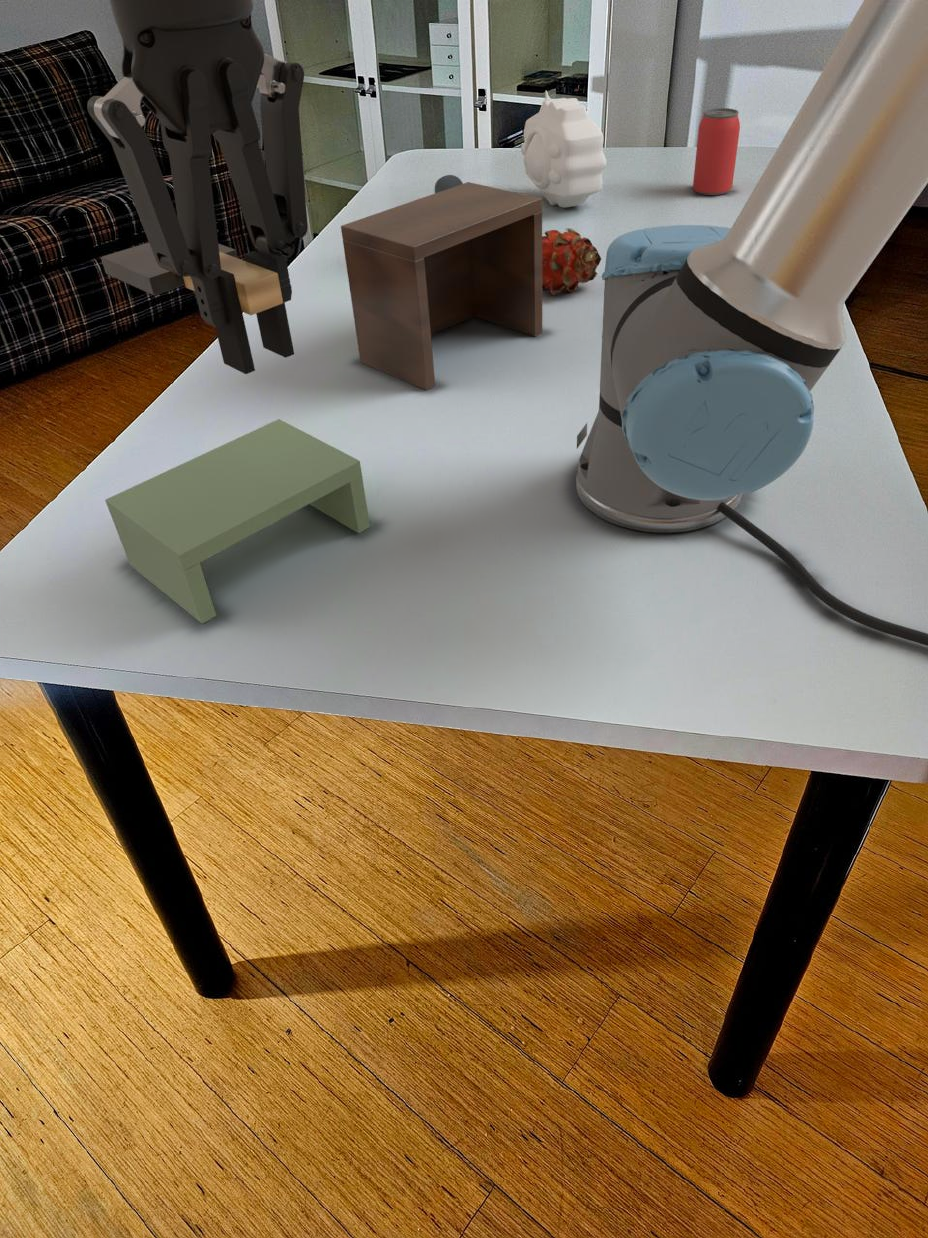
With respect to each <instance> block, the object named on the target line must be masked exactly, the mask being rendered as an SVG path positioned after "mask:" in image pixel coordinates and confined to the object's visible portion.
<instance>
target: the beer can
mask: <svg viewBox="0 0 928 1238" xmlns="http://www.w3.org/2000/svg"><path fill="white" fill-rule="evenodd" d="M739 114H740V113H739V111H738V110H737V109H734V108H728V107H716V108H710V109H706V110H705V111H703V115H702V117H701V120H700V122H699V124H698V133H697V140H696V141H697V142H696V150H695V162H694V170H693V171H694V172H693V183H692V190H693V191H694V192H696V194H700V195H703V196H721V195H725V194H727V193H729V192H730V191H731V190H732V189H733V185H734V176H735V170H736V162H737V154H738V146H739V138H740V129H741V124H740V119H739Z"/></svg>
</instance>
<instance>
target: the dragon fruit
mask: <svg viewBox="0 0 928 1238" xmlns="http://www.w3.org/2000/svg"><path fill="white" fill-rule="evenodd" d="M565 230H566V231H564V232H561V231H559V230H557V229H551V230H546V231H544V235H542V290H549V293H550V294H551V295H553V296H555V295H556V294H558V293H561V292H562V290H563V289H565V290H567V292H574V291H576V290H578V289H579V284H580V283H582V284H587V283H589V282H591V281H594V280H595V278H596V277H597V275H598V272H597V271H596V270H597V268H598V266H599V265H600V263H601V261H602V258H601V255H600V253H599V251H598V248H597V247H595V246H594V245H593V243H592V241H591V240H590V238H587V237H585V236H583V237H582V236H581V234H580V233H578V232H577V230H574V229H573V228H572V227H568V228H565Z"/></svg>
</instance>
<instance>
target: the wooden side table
mask: <svg viewBox="0 0 928 1238" xmlns="http://www.w3.org/2000/svg"><path fill="white" fill-rule="evenodd" d="M422 197H423V198H420V197H419V198H420V199H419V198H418V199H415V200H412V201H408V202H406V203H403V204H400V205H397V206H394V207H391V208H388V209H386V210H383V211H381V212H376V213H374V214H371V215H369V216H366V217H363V218H360V219H357V220H354V221H351V222H348V223H345V224H342V225H341V226H340V230H341V238H342V246H343V253H344V258H345V265H346V272H347V279H348V280H347V281H348V286H349V293H350V300H351V308H352V313H353V314H352V316H353V321H354V327H355V335H356V336H355V337H356V342H357V349H358V355H359V362H360V363H361V364H363V365H365V366H368V367H371V368H373V369H375V370H377V371H380V372H383V373H385V374H387V375H389V376H392V377H393V378H396V379H398V380H401V381H403V382H406V383H409V384H411V385H413V386H416V387H417V388H421V389H423V390H425V391H428V390H430V389H432V388H434V387H436V378H435V366H434V355H433V342H432V336H433V335H435V334H438V333H439V332H442V331H444V330H446V329H448V328H451V327H453V326H455V325H457V324H460V323H461V322H464V321H467V320H468V319H470V318H473V317H476V318H479V319H481V320H484V321H488V322H490V323H493V324H496V325H499V326H502V327H505V328H507V329H508V328H509V329H512V330H514V331H517V332H519V333H523V334H526V335H529V336H532V337H537V336H539V335H542V334H543V288H542V236H543V198H542V197H539V196H535V195H529V194H525V193H521V192H517V191H516V192H515V191H511V190H507V189H502V188H497V187H493V186H489V185H483V184H479V183H474V182H471V181H470V182H469V181H467V182H463V184H461V185H458V186H455V187H452V188H449V189H447V190H444V191H441V192H438V193H435V192H434V193H432V194H430V195H427V196H422Z"/></svg>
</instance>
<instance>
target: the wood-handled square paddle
mask: <svg viewBox="0 0 928 1238" xmlns="http://www.w3.org/2000/svg"><path fill="white" fill-rule="evenodd" d="M218 246H219V254H220V263H221V269H222V270H224V271H227V272H229V273H232V274H234V277H235V283H236V287H237V292H238V296H239V301H240V305H241V310H242V313H244V314H246V315H249V316H253V315H256V313H259V312H261V311H264V310H267V309H269V308H272V307H275V306H277V305H280V304H283V299H282V294H281V289H280V283H279V278H278V273H276V272H273V271H270V270H268V269H265V268H262V267H260V266H257V265H254V264H251V263H249V262H246V261H245V260H243V259H240V258H238V254H237V250H236V249H234V248H231V247H229V246H226V245H224V244H221V243H218ZM100 260H101V263H102V266H103V269H104V272H105V274H106V275H108V276H110V277H113V278H114V279H117V280H119V281H121V282H123V283H126V284H128V285H130V286H132V287H134V288H136V289H139V290H141V291H143V292H145V293H147V294H149V295H152V296H158V295H160V294H163V293H166V292H169V291H172V290H175V289H177V288H180V287H183V286H185V288H186V289H188V290H190V291H192V292H195V290H194V286H193V282H192V279H191V277H190V276H187V277H183V276H180V275H178V274H175V273H173V272H170V271H168V270H166V269H163V268H161V267H160V266H159V265H158V264H157V262H156V260H155V257H154V254H153V252H152V249H151V246H150V244H149V242H145V243H142V244H139V245H136V246H132V247H129V248H126V249H122V250H120V251H116V252H113V253H110V254H107V255H103V256H101V257H100Z"/></svg>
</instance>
